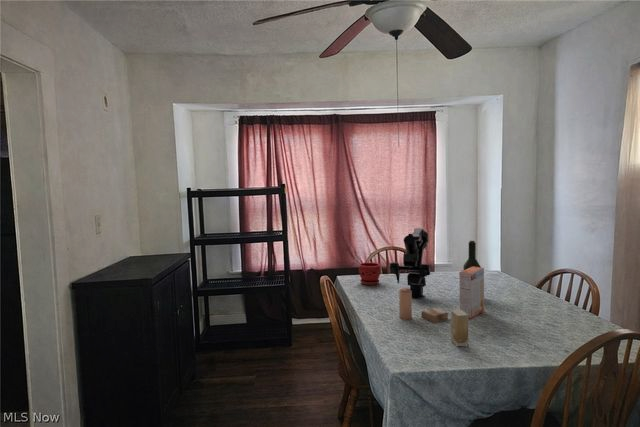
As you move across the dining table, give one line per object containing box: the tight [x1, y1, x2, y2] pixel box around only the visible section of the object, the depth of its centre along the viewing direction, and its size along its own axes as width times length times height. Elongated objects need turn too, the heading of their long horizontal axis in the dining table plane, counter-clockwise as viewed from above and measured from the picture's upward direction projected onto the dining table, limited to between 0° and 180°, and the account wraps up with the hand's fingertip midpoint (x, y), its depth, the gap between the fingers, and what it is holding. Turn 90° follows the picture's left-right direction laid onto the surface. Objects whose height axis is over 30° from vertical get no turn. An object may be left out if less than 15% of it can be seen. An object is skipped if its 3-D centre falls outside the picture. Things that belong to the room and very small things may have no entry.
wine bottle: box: [463, 240, 482, 270], centre depth 198 cm, size 8×8×30 cm
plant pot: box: [358, 262, 382, 286], centre depth 233 cm, size 13×13×12 cm
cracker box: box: [459, 267, 485, 320], centre depth 174 cm, size 14×6×21 cm, turn 134°
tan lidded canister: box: [398, 287, 413, 321], centre depth 172 cm, size 6×6×13 cm
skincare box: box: [450, 309, 470, 347], centre depth 143 cm, size 6×4×12 cm
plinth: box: [421, 307, 449, 323], centre depth 171 cm, size 8×8×3 cm
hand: (407, 283), depth 179 cm, fingers open, 9 cm apart
